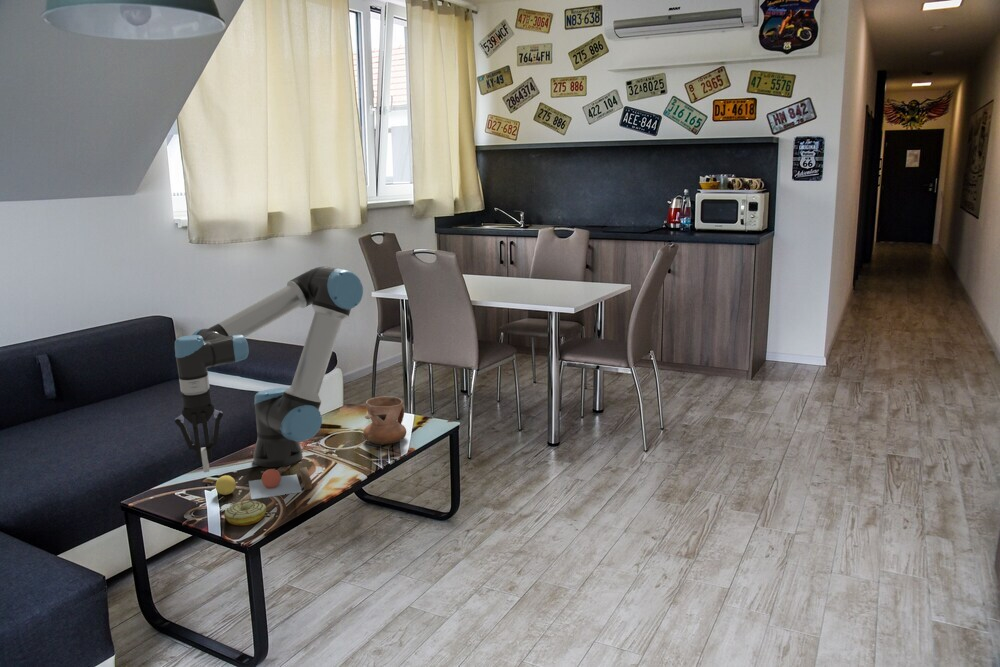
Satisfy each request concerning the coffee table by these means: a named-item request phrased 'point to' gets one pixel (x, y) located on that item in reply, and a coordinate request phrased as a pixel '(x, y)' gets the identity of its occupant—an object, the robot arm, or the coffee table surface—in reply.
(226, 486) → the yellow ball
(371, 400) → the ceramic jug
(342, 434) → the coffee table surface
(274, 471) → the object ball
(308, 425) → the robot arm
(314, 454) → the coffee table surface
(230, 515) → the decorated donut
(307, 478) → the stopper strip
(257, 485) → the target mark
